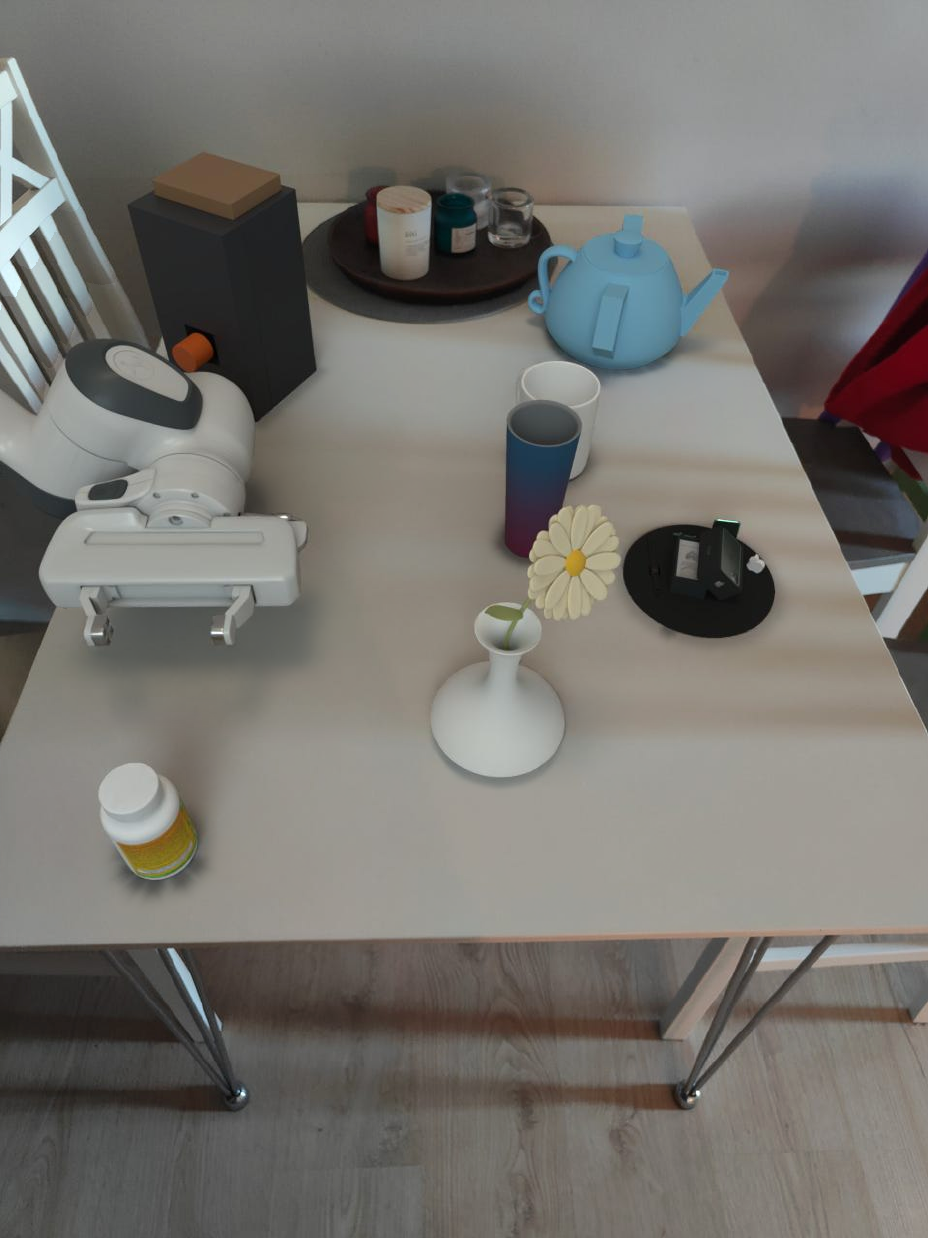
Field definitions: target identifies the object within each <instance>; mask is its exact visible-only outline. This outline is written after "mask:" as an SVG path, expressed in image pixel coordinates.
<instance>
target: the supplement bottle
mask: <svg viewBox="0 0 928 1238" xmlns="http://www.w3.org/2000/svg"><path fill="white" fill-rule="evenodd" d="M98 800H99V803H100V809H99V819H100V823H101V825H102V828H103V830H104V832H105V833H106V835H107V837H108V838H109V840H110V841H111V843H112V844H113V846H114V847H115V848H116V850H117V852H118V853H119V855H120V857H121V858H122V859H123V861H124V862H125V865H126V866H127V867H128V868H129V870H131V872H132V873H134V874H135V875H136V876H137V877H139V878H142V879H145V880H150V881H157V880H165V879H168V878H171V877H173V876H175V875H176V874H178V873H180V872H181V871H183V870H184V869H185V868H186V867H187V866H188V865H189V864H190V862H191V861H192V859H193V858H194V855H195V854H196V851H197V848H198V834H197V833H198V832H197V831H196V827H195V825H194V824H193V822H192V821H193V820H192V819H191V817H190V815H189V813H188V811H187V809H186V807H185V805H184V803H183V800H182V799H181V796H180V794H179V792H178V790H177V788H176V787H175V785H174V784H173V782H172V781H171V780H169V779H168V777H166V776H164V775H161V774H159V773H157V772H156V770H155V769H154V768H153V767H151V766H150V765H149V764H146V763H143V762H136V761H135V762H127V763H123V764H121V765H119V766H117V767H115V768H113V769H111V770H110V771H109V772H108V773H107V774H106V775H105V777H104V778H103V779H102V780H101V783H100V785H99V788H98Z"/></svg>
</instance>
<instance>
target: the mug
mask: <svg viewBox="0 0 928 1238" xmlns="http://www.w3.org/2000/svg"><path fill="white" fill-rule="evenodd" d="M601 388H602V386H601V383H600V380H599V378H598V377H597V375H595V373H594V372H593V371H592V370H590V369H589V368H587V367H586V366H583V365H581V364H578V363H574V362H571V361H564V360H549V361H543V362H539V363H536V364H534V365H532V366H527V367H525V368H522V370H521V371H520V373H519V374H518V376H517V379H516V384H515V401H516V406H517V405H519V404H521V403H524V402H526V401H531V400H550V401H555V402H558V403H561V404H564V405H566V406H568V407H569V408H571V409H572V410H574V411H575V412H576V413H577V414H578V416H579V417H580V419H581V422H582V430H581V434H580V438H579V442H578V446H577V450H576V454H575V458H574V462H573V466H572V470H571V474H570V478H569V481H570V480H572V479H574V478H576V477H578V475H580V474H581V473H582V472H583V471H584V469H585V467H586V465H587V462H588V459H589V454H590V449H591V445H592V439H593V434H594V428H595V423H596V416H597V412H598V406H599V400H600V395H601V390H602V389H601Z"/></svg>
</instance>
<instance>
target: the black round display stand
mask: <svg viewBox="0 0 928 1238" xmlns="http://www.w3.org/2000/svg"><path fill="white" fill-rule="evenodd" d="M741 525H742V523H741V522H740V520H731V519H724V518H723V519H722V518H715V519H714V520H713V523H712V527H709V526H704V525H698V524H672V525H665V526H661V527H658V528H654V529H652V530H650V531H648V532H646V533H644V534H643V535H641V536H640V537H639V538H637V539H636V540H635V541H634V542H633V543H632V544H631V546H630V547H629V548H628V550H627V552H626V554H625V558H624V561H623V565H622V576H623V582H624V586H625V589H626V590H627V592H628V594H629V596H630V597H631V599H632V600H633V602H634V603H635V604H636V606H637V607H638V608H639V609H640V610H641V611H642V612H643V613H645V614H646V615H647V616H648V617H649V618H651V619H652V620H654V621H655V622H657V623H658V624H659V625H662V626H663V627H666V628H668V629H669V630H672V631H675V632H677V633H680V634H684V635H687V636H692V637H695V638H704V639H705V638H706V639H724V638H730V637H735V636H739V635H742V634H744V633H747V632H749V631H751V630H753V629H754V628H756V627H757V626H759V625H760V624H761V623H762V622H763V621H765V619H766V618H767V616H768V615H769V613H770V612H771V610H772V608H773V605H774V602H775V598H776V587H775V581H774V577H773V575H772V573H771V571H770V569H769V566H768V565H767V564H766V562H765V561H764V560H763V559H762V557H761V556H760V555H759V554H758V553H757V552H756V551H755V550H754V549H753V548H752V547H750V546H749V545H748V544H747V543H745V542H744V541H742V540H740V539H738V538H737V537H738V535H739V532H740V528H741Z"/></svg>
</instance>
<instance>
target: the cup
mask: <svg viewBox="0 0 928 1238" xmlns="http://www.w3.org/2000/svg"><path fill="white" fill-rule="evenodd" d="M581 430H582V422H581V419H580V417H579V416H578V414H577V413H576V412H575V411H574V410H572V409H571V408H569V407H568V406H566V405H564V404H561V403H558V402H555V401H550V400H531V401H526V402H524V403H521V404H519V405H517V404H516V405H515V406H514V407H513V408H512V409H511V410H510V411H509V412H508V414H507V416H506V439H505V440H506V441H505V497H504V499H505V506H504V543H505V546H506V547H507V549H508V550H509V551H510V552H512V553H513V554H515V555H516V556H519V557H522V558H527V559H529V554H530V551H531V549H532V548H533V544H534V542H535V541H536V538H537V535H538V533H539V532H541V531H547V532H549V521H550V518H551V517H552V516H554V515H558V512H559V511H560V510H561V509H562V508H563V505H564V501H565V497H566V493H567V490H568V485H569V482H570V480H569V478H570V474H571V470H572V466H573V462H574V458H575V454H576V450H577V446H578V442H579V438H580V434H581Z"/></svg>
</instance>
